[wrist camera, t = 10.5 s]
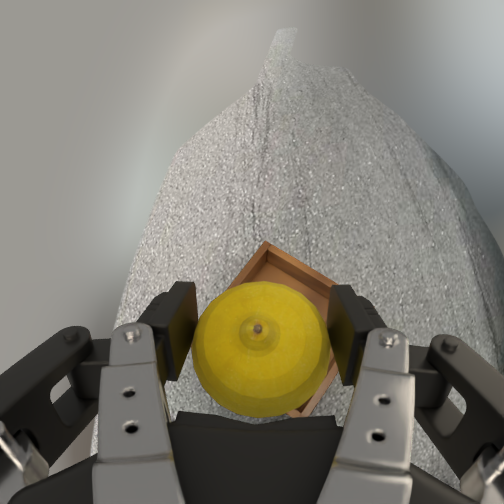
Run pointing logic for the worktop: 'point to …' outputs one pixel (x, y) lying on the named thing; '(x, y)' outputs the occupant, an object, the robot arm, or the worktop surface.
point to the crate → (302, 280)
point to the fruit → (261, 349)
